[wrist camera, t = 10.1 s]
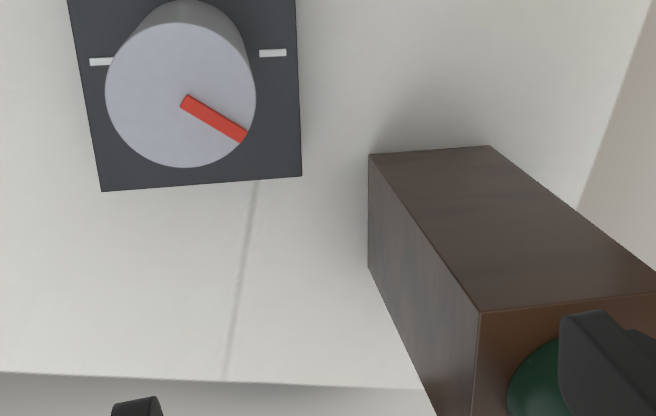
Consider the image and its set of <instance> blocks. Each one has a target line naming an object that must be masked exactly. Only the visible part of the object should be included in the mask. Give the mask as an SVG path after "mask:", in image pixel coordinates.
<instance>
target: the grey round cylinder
mask: <svg viewBox="0 0 656 416" xmlns="http://www.w3.org/2000/svg"><path fill="white" fill-rule="evenodd" d="M105 101H106V106H107V110H108V114H109V116H110V119H111V121H112V124H113V125H114V127H115V129H116V131H117V132H118V133H119V135H120V136H121V138H122V139H123V140H124V141H125V142H126V143H127V144H128V145H129V146H130V147H131V148H132V149H133V150H135V151H136V152H137V153H139V154H140V155H142V156H143V157H145V158H147V159H149V160H151V161H153V162H156V163H159V164H162V165H166V166H170V167H178V168H192V167H199V166H203V165H207V164H210V163H212V162H215V161H217V160H219V159H221V158H223V157H224V156H226V155H227V154H229V153H230V152H231V151H233V150H234V149H235V148H236V147H237V146H238V145H239V144H240V143H241V142H242V141H243V139H244V138H245V136H246V135H247V133H248V130H249V129H250V126H251V124H252V121H253V118H254V114H255V109H256V89H255V83H254V79H253V75H252V72H251V68H250V65H249V61H248V57H247V54H246V50H245V46H244V43H243V40H242V37H241V35H240V33H239V31H238V29H237V27H236V26H235V24H234V23H233V22H232V21H231V19H230V18H229V17H228V16H227V15H226V14H224V13H223V12H222V11H221V10H219V9H218V8H216V7H214V6H212V5H210V4H208V3H205V2H202V1H198V0H174V1H171V2H167V3H165V4H163V5H161V6H159V7H157V8H156V9H154V10H153V11H152V12H150V13H149V14H148V15H147V16H146V18H145V19H144V20H143V21H142V22H141V23H140V25H139V26H138V27H137V28H136V29H135V31H134V32H133V33H132V34H131V35H130V37H129V38H128V39H127V40H126V41H125V43H124V44H123V45H122V46H121V47H120V48H119V50H118V51H117V53H116V54H115V56H114V57H113V60H112V62H111V64H110V66H109V69H108V72H107V75H106V82H105Z"/></svg>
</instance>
